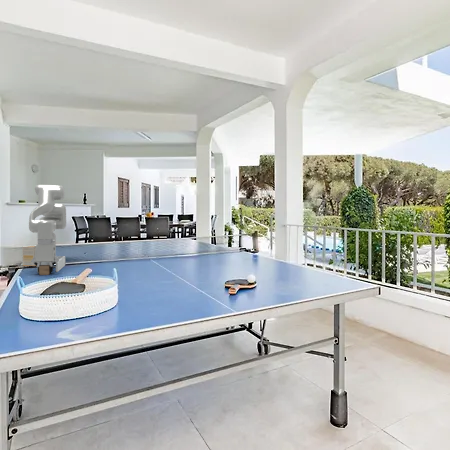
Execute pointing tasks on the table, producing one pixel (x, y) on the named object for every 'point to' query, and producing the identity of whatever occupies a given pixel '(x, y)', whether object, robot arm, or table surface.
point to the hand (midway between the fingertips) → (45, 273)
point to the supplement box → (28, 255)
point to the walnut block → (44, 270)
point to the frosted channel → (59, 264)
